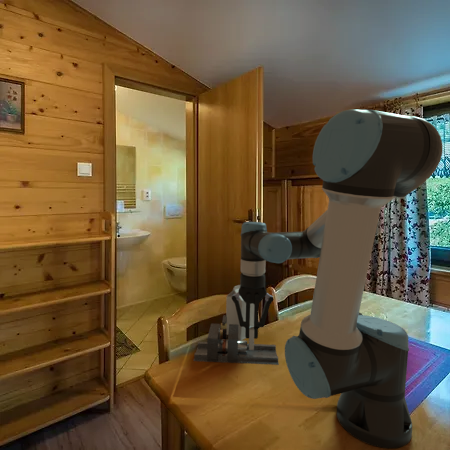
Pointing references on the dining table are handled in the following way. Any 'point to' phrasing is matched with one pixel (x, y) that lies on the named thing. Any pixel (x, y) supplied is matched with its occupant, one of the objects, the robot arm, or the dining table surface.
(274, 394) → the dining table surface
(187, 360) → the dining table surface
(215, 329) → the collar rail
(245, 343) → the tube
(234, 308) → the milk carton
